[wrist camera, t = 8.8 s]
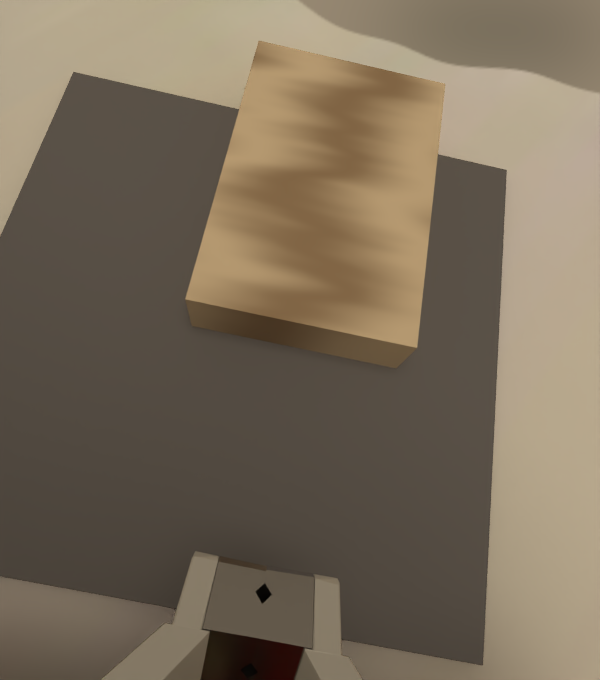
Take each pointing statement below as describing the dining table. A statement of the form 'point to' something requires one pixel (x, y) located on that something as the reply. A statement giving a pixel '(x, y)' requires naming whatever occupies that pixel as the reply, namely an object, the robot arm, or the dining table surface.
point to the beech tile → (322, 209)
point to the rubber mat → (234, 393)
